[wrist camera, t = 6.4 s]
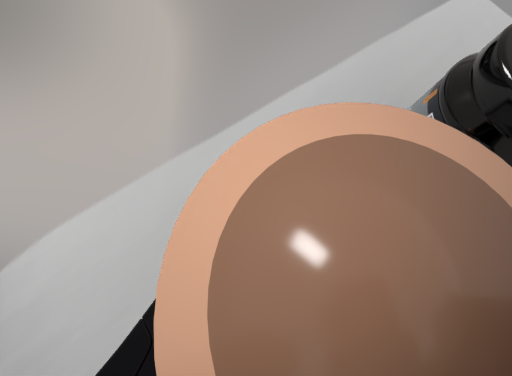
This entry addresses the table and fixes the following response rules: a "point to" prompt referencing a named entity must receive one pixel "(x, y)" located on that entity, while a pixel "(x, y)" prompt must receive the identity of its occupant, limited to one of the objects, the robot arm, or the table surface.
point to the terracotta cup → (342, 253)
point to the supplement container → (477, 96)
